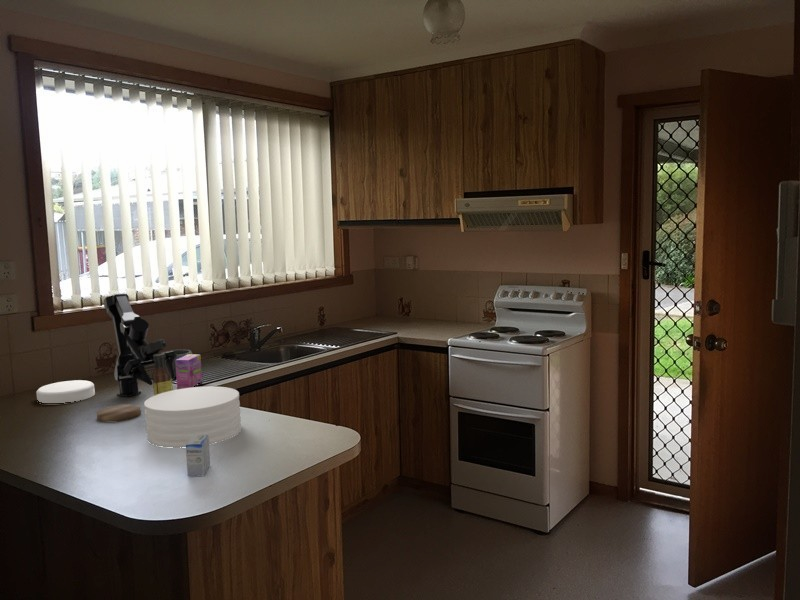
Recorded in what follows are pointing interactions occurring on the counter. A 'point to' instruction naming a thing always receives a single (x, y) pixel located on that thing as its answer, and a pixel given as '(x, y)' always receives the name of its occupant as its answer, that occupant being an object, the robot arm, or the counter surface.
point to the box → (188, 371)
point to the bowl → (179, 354)
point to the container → (65, 391)
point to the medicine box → (197, 455)
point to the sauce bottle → (161, 375)
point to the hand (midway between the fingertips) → (163, 381)
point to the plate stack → (192, 415)
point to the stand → (119, 412)
